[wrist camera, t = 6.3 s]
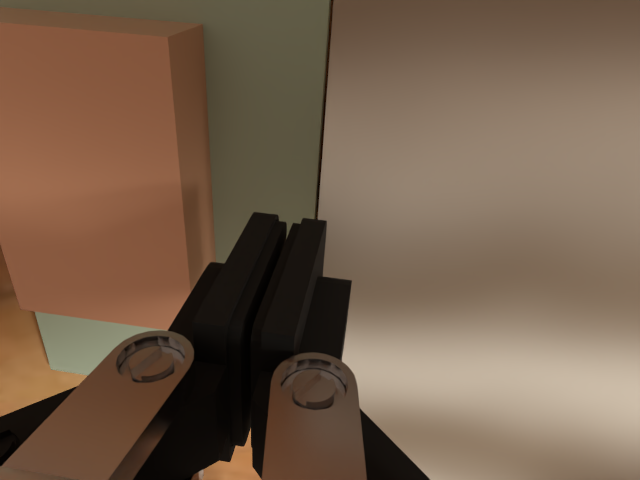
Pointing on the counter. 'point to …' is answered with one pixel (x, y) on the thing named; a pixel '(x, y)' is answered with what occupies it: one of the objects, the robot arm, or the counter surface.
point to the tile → (104, 164)
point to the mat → (228, 128)
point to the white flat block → (490, 230)
